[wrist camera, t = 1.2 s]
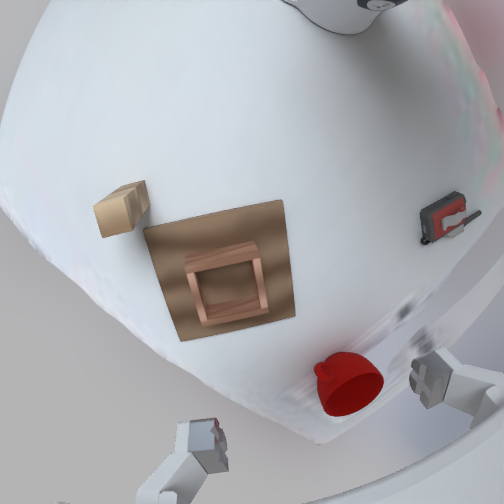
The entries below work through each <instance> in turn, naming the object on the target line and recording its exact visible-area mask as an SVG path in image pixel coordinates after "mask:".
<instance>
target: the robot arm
mask: <svg viewBox="0 0 504 504" xmlns="http://www.w3.org/2000/svg"><path fill="white" fill-rule="evenodd" d="M284 1H286V2H288V3H290V4H292V5H294V6H296V7H297V8H298V9H299V10H300V11H301V12H302V13H303V14H304V15H305V16H307V17H308V18H309V19H310V20H311V21H313V22H314V23H316V24H317V25H319V26H321V27H323V28H325V29H327V30H329V31H332V32H336V33H340V34H356V33H360V32H362V31H364V30H366V29H367V28H368V27H369V26H370V24H371V23H372V22H373V20H374V19H375V18H376V17H377V16H378V15H379V14H380V13H382V12H383V11H384V10H387V9H390V8H393V7H395V6H397V5H400V4H402V3H404V2H406V1H408V0H284ZM411 367H412V368H413V370H412V372H411V373H410V376H409V382H410V386H411V388H412V390H413V391H414V393H416V394H419V395H420V401H421V402H422V403H423V405H424V406H425V407H426V409H429V408H431V407H433V406H435V405H437V404H439V403H441V402H443V403H445V404H448V405H450V406H452V407H454V408H456V409H459V410H461V411H463V412H465V413H468V414H470V415H472V416H475V417H474V419H473V421H472V423H471V425H470V428H471V430H470V431H469V432H467V433H465V434H464V435H462V436H461V437H459V438H458V439H456V440H454V441H453V442H451V443H450V444H448V445H446V446H445V447H443V448H441V449H440V450H438V451H436V452H434V453H432V454H431V455H429V456H427V457H425V458H423V459H421V460H420V461H417V462H415V463H413V464H411V465H409V466H407V467H405V468H403V469H401V470H399V471H397V472H395V473H392V474H390V475H388V476H386V477H383V478H381V479H378V480H376V481H373V482H371V483H368V484H365V485H363V486H360V487H357V488H355V489H352V490H349V491H346V492H343V493H340V494H336V495H333V496H330V497H326V498H323V499H319V500H315V501H312V502H308V503H304V504H504V373H500V372H495V371H491V370H487V369H482V368H478V367H474V366H470V365H466V364H465V365H462V364H461V363H460V362H459V361H457V359H456V358H455V357H454V356H453V355H452V354H451V353H450V352H449V351H448V350H446V349H445V348H444V347H442V346H440V347H438V348H436V349H434V350H432V351H430V352H428V353H426V354H424V355H422V356H420V357H417V358H415V359H413V361H412V363H411ZM226 451H227V442H226V437H225V434H224V432H223V430H222V429H221V428H219V422H218V420H217V418H209V419H200V420H191V421H181V422H179V423H178V425H177V432H176V440H175V450H174V453H171V454H170V455H169V456H168V457H167V458H166V459H165V461H164V462H163V463H162V464H161V465H160V466H159V467H158V468H157V469H156V471H155V472H154V473H153V474H152V475H151V476H150V477H149V478H148V479H147V480H146V481H145V482H144V484H143V485H142V486H141V487H140V488H139V489H138V492H137V497H136V504H190V503H191V502H192V500H193V498H194V497H195V495H196V494H197V492H198V490H199V489H200V487H201V486H202V484H203V482H204V481H205V479H206V478H207V476H208V474H212V473H219V472H227V471H229V470H228V458H227V456H226V454H225V452H226ZM54 504H69V503H65V502H56V503H54Z"/></svg>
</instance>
